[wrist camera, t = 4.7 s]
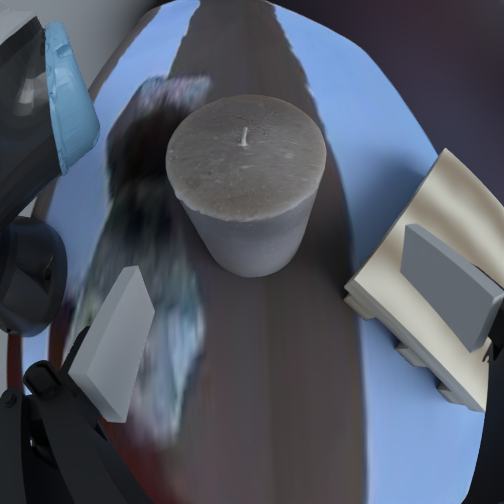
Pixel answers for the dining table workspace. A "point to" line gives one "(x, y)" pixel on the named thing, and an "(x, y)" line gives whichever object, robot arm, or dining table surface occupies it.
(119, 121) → the dining table surface
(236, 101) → the pillar candle
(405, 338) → the plate
